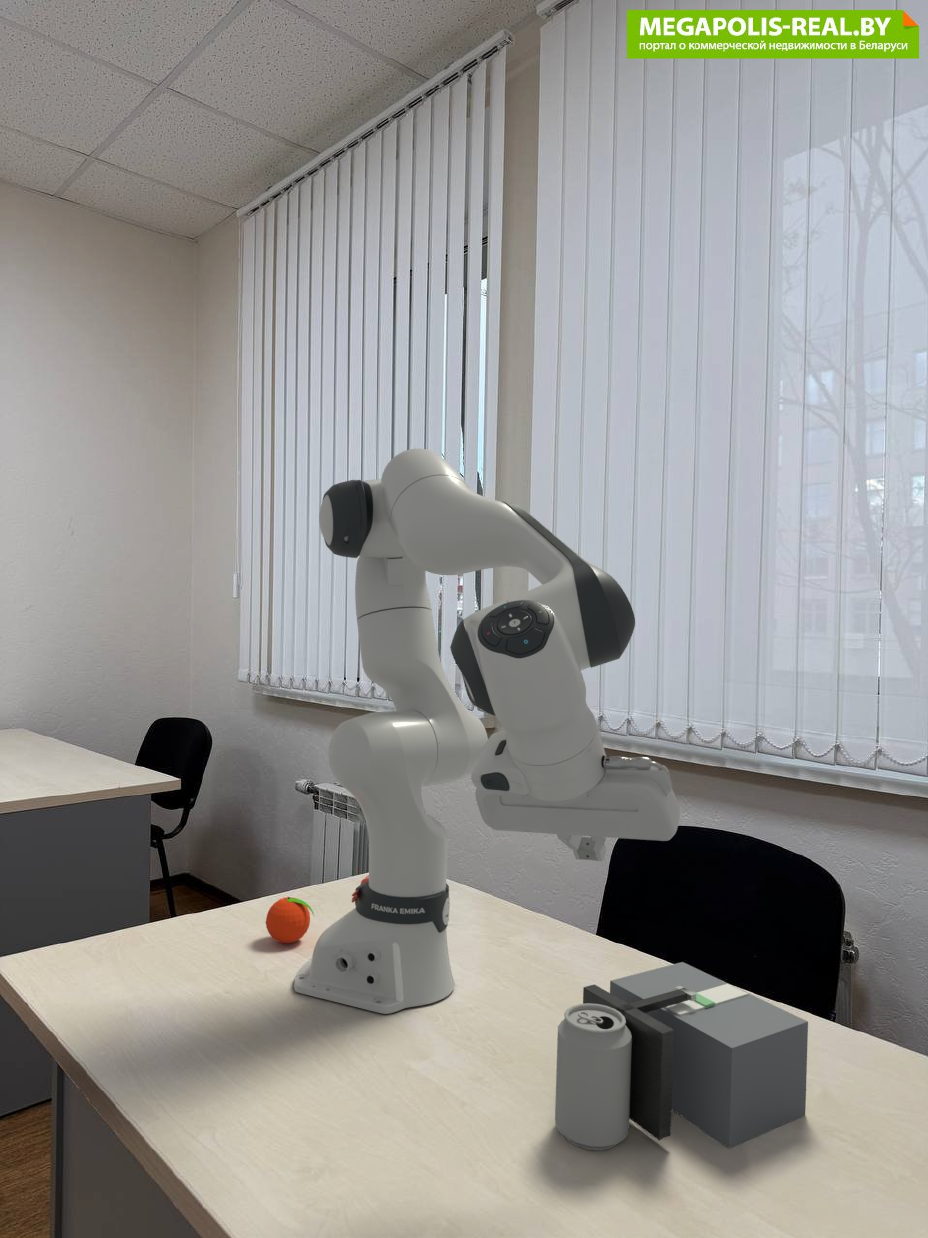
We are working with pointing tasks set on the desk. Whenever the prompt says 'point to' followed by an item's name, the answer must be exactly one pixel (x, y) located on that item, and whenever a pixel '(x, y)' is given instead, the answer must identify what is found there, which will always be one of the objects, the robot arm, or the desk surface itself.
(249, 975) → the desk surface
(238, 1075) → the desk surface
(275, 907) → the clementine
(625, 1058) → the can
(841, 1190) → the desk surface
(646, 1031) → the gauge plunger
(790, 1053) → the gauge housing
